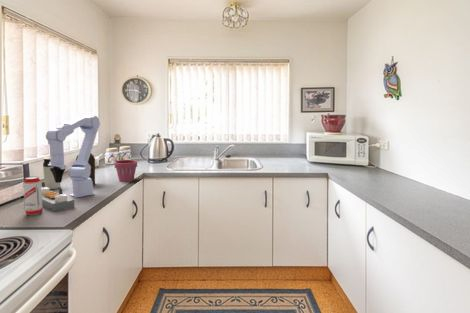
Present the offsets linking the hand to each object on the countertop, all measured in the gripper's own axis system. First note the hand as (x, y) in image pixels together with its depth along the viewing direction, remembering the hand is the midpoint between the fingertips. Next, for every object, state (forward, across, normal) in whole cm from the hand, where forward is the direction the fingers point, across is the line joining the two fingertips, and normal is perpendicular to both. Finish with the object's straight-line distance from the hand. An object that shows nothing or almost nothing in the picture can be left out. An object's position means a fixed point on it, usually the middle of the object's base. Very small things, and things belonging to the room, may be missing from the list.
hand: (58, 182), depth 146 cm
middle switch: (+7, -1, -3) cm, 8 cm away
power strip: (+10, -1, -3) cm, 11 cm away
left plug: (+7, -11, -3) cm, 13 cm away
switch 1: (+7, -5, -3) cm, 9 cm away
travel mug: (+10, -35, +10) cm, 38 cm away
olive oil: (+10, -29, +27) cm, 41 cm away
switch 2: (+7, +2, -3) cm, 8 cm away
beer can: (+11, +8, -14) cm, 19 cm away
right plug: (+7, +9, -3) cm, 12 cm away
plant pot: (+10, -23, +51) cm, 56 cm away
